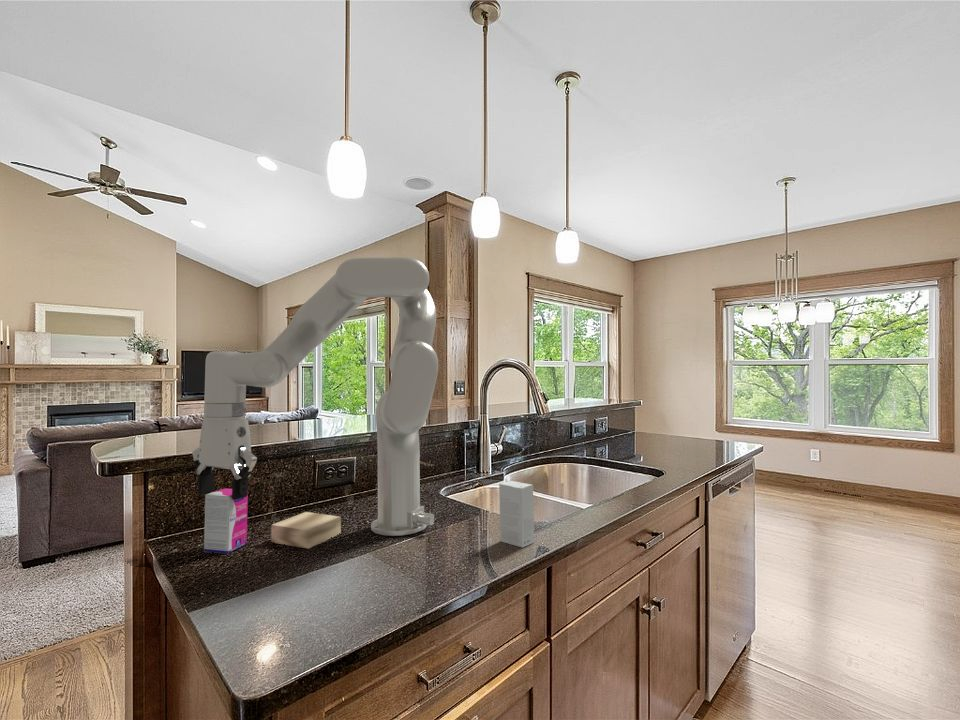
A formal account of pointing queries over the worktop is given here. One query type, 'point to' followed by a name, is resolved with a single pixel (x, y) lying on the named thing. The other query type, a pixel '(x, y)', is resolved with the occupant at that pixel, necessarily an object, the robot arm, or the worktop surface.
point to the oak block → (305, 529)
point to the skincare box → (516, 513)
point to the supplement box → (224, 522)
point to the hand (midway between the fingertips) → (222, 495)
